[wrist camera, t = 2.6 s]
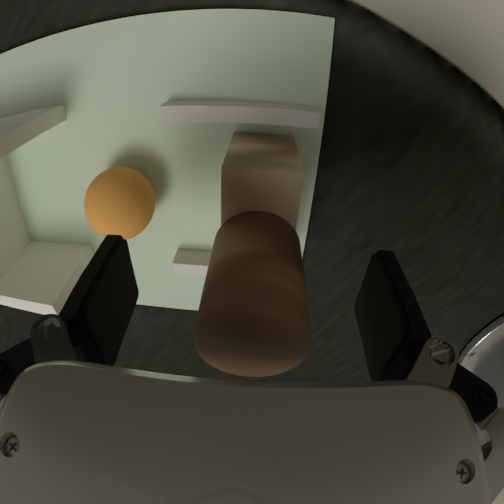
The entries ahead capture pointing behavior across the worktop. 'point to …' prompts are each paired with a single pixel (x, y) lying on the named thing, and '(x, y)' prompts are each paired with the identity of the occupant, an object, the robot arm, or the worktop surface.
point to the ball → (119, 202)
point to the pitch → (147, 138)
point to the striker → (256, 263)
